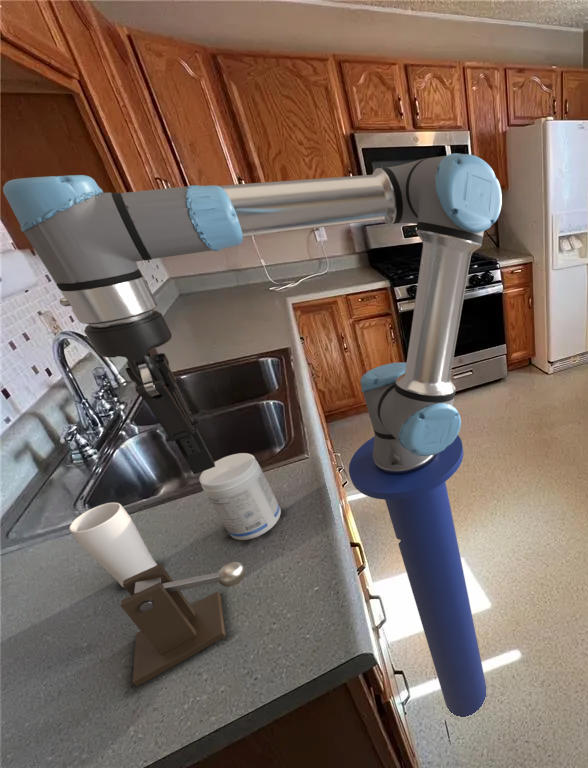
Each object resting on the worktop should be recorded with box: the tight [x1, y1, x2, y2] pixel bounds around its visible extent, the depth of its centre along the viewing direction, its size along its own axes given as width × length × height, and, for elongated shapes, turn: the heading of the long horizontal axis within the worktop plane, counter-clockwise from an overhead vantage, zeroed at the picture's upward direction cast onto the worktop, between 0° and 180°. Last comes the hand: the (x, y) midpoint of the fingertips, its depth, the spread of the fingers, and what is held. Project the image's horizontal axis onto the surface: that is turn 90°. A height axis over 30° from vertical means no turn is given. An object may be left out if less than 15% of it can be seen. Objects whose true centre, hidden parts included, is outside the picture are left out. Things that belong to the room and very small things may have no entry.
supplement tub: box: [198, 452, 282, 541], centre depth 81 cm, size 10×10×15 cm
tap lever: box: [134, 561, 246, 594], centre depth 62 cm, size 13×4×4 cm, turn 127°
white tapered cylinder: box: [68, 501, 158, 589], centre depth 72 cm, size 7×7×15 cm
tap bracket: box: [119, 563, 226, 688], centre depth 61 cm, size 11×9×13 cm
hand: (204, 468), depth 62 cm, fingers closed
